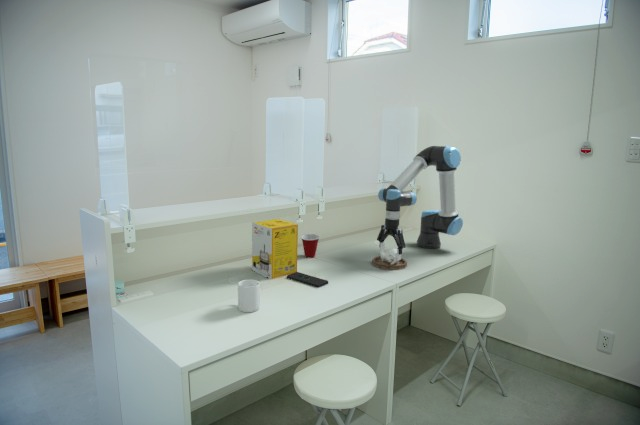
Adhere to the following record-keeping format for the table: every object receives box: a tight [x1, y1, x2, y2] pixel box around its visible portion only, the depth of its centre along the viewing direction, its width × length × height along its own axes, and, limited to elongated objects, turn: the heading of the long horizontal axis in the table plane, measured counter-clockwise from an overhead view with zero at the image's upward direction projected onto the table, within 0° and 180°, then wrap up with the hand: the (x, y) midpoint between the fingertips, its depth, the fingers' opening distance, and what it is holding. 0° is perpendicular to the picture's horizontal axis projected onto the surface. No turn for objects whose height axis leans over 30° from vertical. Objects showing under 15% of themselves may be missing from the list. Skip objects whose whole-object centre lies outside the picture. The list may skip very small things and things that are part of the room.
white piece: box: [380, 248, 399, 265], centre depth 232 cm, size 6×8×12 cm
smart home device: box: [286, 271, 329, 289], centre depth 204 cm, size 8×2×20 cm
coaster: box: [371, 255, 408, 271], centre depth 233 cm, size 18×18×2 cm
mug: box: [237, 279, 261, 313], centre depth 171 cm, size 9×12×11 cm
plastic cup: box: [300, 233, 320, 259], centre depth 242 cm, size 11×11×12 cm
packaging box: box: [251, 218, 299, 280], centre depth 213 cm, size 16×16×25 cm
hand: (390, 256), depth 232 cm, fingers open, 12 cm apart
